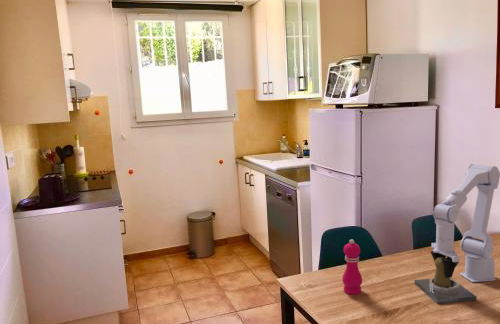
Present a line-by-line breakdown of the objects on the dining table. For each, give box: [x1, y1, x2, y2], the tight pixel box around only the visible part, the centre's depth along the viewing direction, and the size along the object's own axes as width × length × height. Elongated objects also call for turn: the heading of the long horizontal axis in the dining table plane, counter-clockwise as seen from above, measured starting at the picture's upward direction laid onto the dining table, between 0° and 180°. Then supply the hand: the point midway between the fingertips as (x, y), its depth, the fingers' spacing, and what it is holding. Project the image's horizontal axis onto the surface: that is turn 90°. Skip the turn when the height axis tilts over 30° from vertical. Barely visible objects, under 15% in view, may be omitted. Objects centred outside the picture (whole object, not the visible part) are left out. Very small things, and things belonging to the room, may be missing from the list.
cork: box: [433, 258, 451, 288], centre depth 144 cm, size 6×6×11 cm
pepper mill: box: [341, 238, 363, 296], centre depth 147 cm, size 7×7×20 cm
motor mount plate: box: [414, 276, 477, 305], centre depth 145 cm, size 14×16×4 cm
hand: (444, 273), depth 144 cm, fingers open, 5 cm apart
